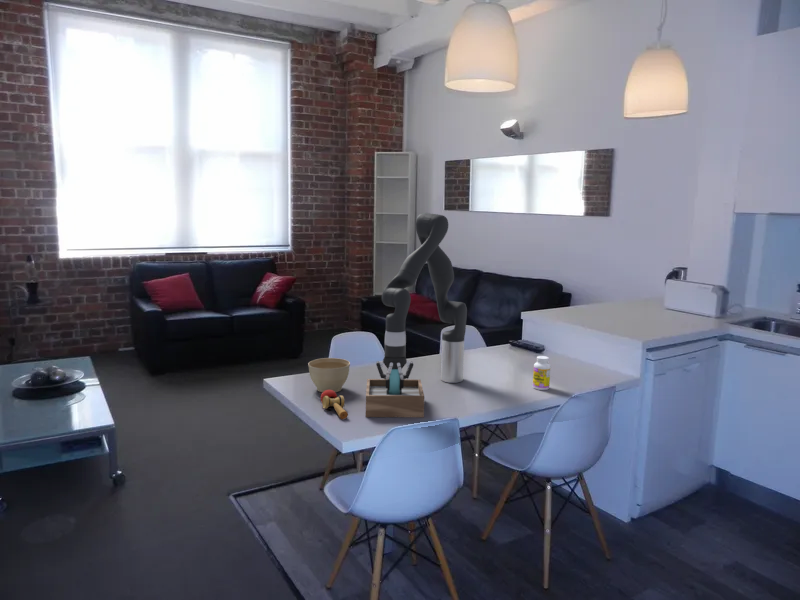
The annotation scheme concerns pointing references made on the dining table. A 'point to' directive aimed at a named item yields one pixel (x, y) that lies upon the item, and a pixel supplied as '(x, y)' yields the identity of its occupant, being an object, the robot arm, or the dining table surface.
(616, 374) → the dining table surface
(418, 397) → the bore box
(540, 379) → the supplement bottle
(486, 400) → the dining table surface
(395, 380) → the peg
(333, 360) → the planter bowl
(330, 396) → the kendama
